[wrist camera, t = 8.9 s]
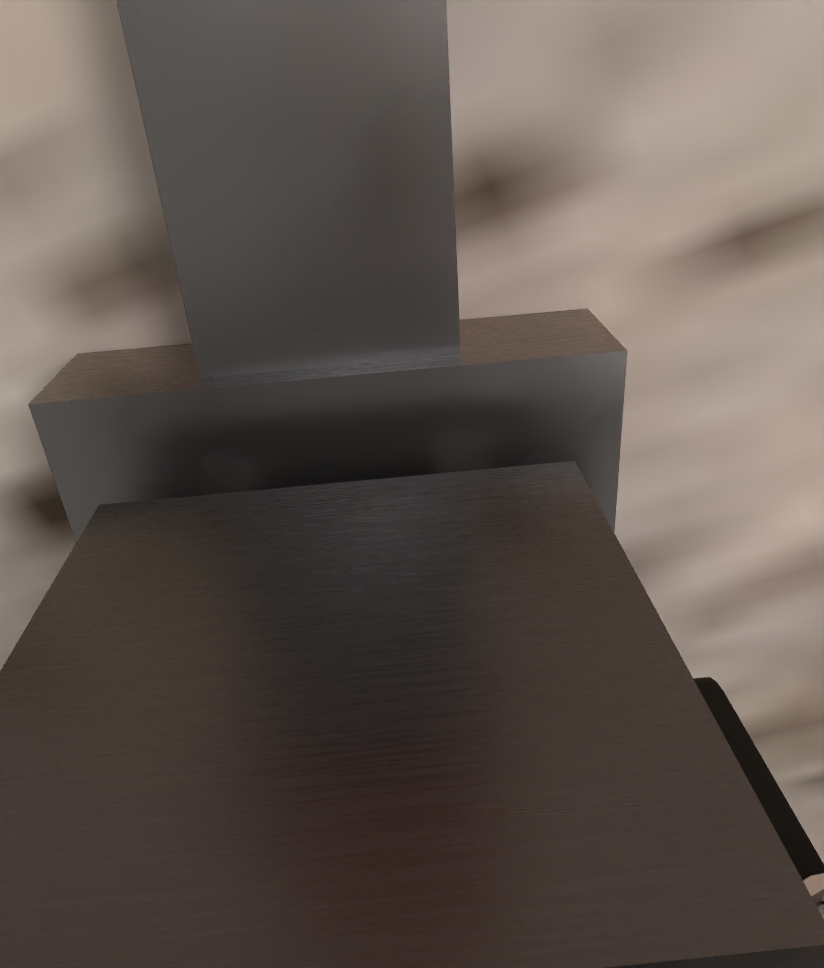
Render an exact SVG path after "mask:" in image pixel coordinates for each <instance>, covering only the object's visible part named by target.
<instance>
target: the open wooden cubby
mask: <svg viewBox="0 0 824 968" xmlns="http://www.w3.org/2000/svg"><path fill="white" fill-rule="evenodd" d="M0 968H824V919H823V917H822V915H821V913H820V911H819V910H818V908H817V906H816V904H815V902H814V900H813V899H812V897H811V895H810V893H809V891H808V889H807V888H806V886H805V884H804V882H803V880H802V878H801V876H800V875H799V873H798V871H797V869H796V867H795V865H794V864H793V862H792V860H791V858H790V856H789V854H788V853H787V851H786V849H785V847H784V845H783V843H782V841H781V840H780V838H779V836H778V834H777V832H776V830H775V829H774V827H773V825H772V823H771V821H770V819H769V818H768V816H767V814H766V812H765V810H764V808H763V806H762V805H761V803H760V801H759V799H758V797H757V795H756V794H755V792H754V790H753V788H752V786H751V784H750V783H749V781H748V779H747V777H746V775H745V773H744V772H743V770H742V768H741V766H740V764H739V762H738V760H737V759H736V757H735V755H734V753H733V751H732V749H731V748H730V746H729V744H728V742H727V740H726V738H725V737H724V735H723V733H722V731H721V729H720V727H719V725H718V724H717V722H716V720H715V718H714V716H713V714H712V713H711V711H710V709H709V707H708V705H707V703H706V702H705V700H704V698H703V696H702V694H701V692H700V690H699V689H698V687H697V685H696V683H695V681H694V679H693V678H692V676H691V674H690V672H689V670H688V668H687V667H686V665H685V663H684V661H683V659H682V657H681V655H680V654H679V652H678V650H677V648H676V646H675V644H674V643H673V641H672V639H671V637H670V635H669V633H668V632H667V630H666V628H665V626H664V624H663V622H662V620H661V619H660V617H659V615H658V613H657V611H656V609H655V608H654V606H653V604H652V602H651V600H650V598H649V597H648V595H647V593H646V591H645V589H644V587H643V586H642V584H641V582H640V580H639V578H638V576H637V574H636V573H635V571H634V569H633V567H632V565H631V563H630V562H629V560H628V558H627V556H626V554H625V552H624V551H623V549H622V547H621V545H620V543H619V541H618V539H617V538H616V536H615V534H614V532H613V530H612V528H611V527H610V525H609V523H608V521H607V519H606V517H605V516H604V514H603V512H602V510H601V508H600V506H599V504H598V503H597V501H596V499H595V497H594V495H593V493H592V492H591V490H590V488H589V486H588V484H587V482H586V481H585V479H584V477H583V475H582V473H581V471H580V469H579V468H578V466H577V464H576V462H575V461H569V462H558V463H547V464H536V465H525V466H514V467H503V468H493V469H482V470H471V471H460V472H449V473H438V474H427V475H416V476H405V477H395V478H384V479H373V480H362V481H351V482H340V483H329V484H318V485H308V486H297V487H286V488H275V489H264V490H253V491H242V492H231V493H220V494H210V495H199V496H188V497H177V498H166V499H155V500H144V501H133V502H122V503H112V504H101V505H99V506H98V507H97V509H96V511H95V512H94V514H93V516H92V517H91V519H90V521H89V522H88V524H87V526H86V528H85V529H84V531H83V533H82V534H81V536H80V538H79V539H78V541H77V543H76V544H75V546H74V548H73V549H72V551H71V553H70V555H69V556H68V558H67V560H66V561H65V563H64V565H63V566H62V568H61V570H60V571H59V573H58V575H57V577H56V578H55V580H54V582H53V583H52V585H51V587H50V588H49V590H48V592H47V593H46V595H45V597H44V598H43V600H42V602H41V604H40V605H39V607H38V609H37V610H36V612H35V614H34V615H33V617H32V619H31V620H30V622H29V624H28V626H27V627H26V629H25V631H24V632H23V634H22V636H21V637H20V639H19V641H18V642H17V644H16V646H15V647H14V649H13V651H12V653H11V654H10V656H9V658H8V659H7V661H6V663H5V664H4V666H3V668H2V669H1V671H0Z"/></svg>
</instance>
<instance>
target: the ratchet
mask: <svg viewBox="0 0 824 968" xmlns="http://www.w3.org/2000/svg"><path fill="white" fill-rule="evenodd" d="M117 4H118V9H119V13H120V18H121V22H122V27H123V31H124V36H125V40H126V45H127V49H128V54H129V58H130V63H131V68H132V72H133V77H134V81H135V86H136V90H137V95H138V99H139V104H140V108H141V113H142V117H143V122H144V126H145V131H146V135H147V140H148V144H149V149H150V153H151V158H152V162H153V167H154V171H155V176H156V180H157V185H158V189H159V194H160V199H161V203H162V208H163V212H164V217H165V221H166V226H167V230H168V235H169V239H170V244H171V248H172V253H173V257H174V262H175V266H176V271H177V275H178V280H179V284H180V289H181V293H182V298H183V302H184V307H185V311H186V316H187V320H188V325H189V330H190V334H191V339H192V343H193V344H184V345H173V346H162V347H150V348H139V349H128V350H116V351H105V352H94V353H82V354H77V355H76V356H75V357H74V358H73V359H72V360H71V361H70V362H69V363H68V364H67V365H66V366H65V367H64V368H63V369H62V370H61V371H60V372H59V373H58V374H57V375H56V376H55V377H54V379H53V380H52V381H51V382H50V383H49V384H48V385H47V386H46V387H45V388H44V389H43V390H42V391H41V392H40V393H39V394H38V395H37V396H36V397H35V398H34V399H33V400H32V401H31V402H30V403H29V404H28V405H29V408H30V410H31V413H32V416H33V419H34V422H35V425H36V428H37V431H38V434H39V436H40V439H41V442H42V445H43V448H44V451H45V454H46V457H47V460H48V463H49V465H50V468H51V471H52V474H53V477H54V480H55V483H56V486H57V489H58V491H59V494H60V497H61V500H62V503H63V506H64V509H65V512H66V515H67V517H68V520H69V523H70V526H71V529H72V532H73V535H74V538H75V541H76V543H77V541H78V539H79V538H80V536H81V534H82V533H83V531H84V529H85V528H86V526H87V524H88V522H89V521H90V519H91V517H92V516H93V514H94V512H95V511H96V509H97V507H98V506H99V505H101V504H112V503H122V502H133V501H144V500H155V499H166V498H177V497H188V496H199V495H210V494H220V493H231V492H242V491H253V490H264V489H275V488H286V487H297V486H308V485H318V484H329V483H340V482H351V481H362V480H373V479H384V478H395V477H405V476H416V475H427V474H438V473H449V472H460V471H471V470H482V469H493V468H503V467H514V466H525V465H536V464H547V463H558V462H569V461H575V462H576V464H577V466H578V468H579V469H580V471H581V473H582V475H583V477H584V479H585V481H586V482H587V484H588V486H589V488H590V490H591V492H592V493H593V495H594V497H595V499H596V501H597V503H598V504H599V506H600V508H601V510H602V512H603V514H604V516H605V517H606V519H607V521H608V523H609V525H610V527H611V528H612V530H613V532H614V529H615V514H616V500H617V486H618V472H619V458H620V444H621V430H622V415H623V401H624V387H625V373H626V359H627V350H626V349H625V348H624V347H623V346H622V345H621V344H620V343H619V341H618V340H617V339H616V338H615V337H614V336H613V335H612V334H611V333H610V332H609V331H608V330H607V329H606V328H605V327H604V326H603V325H602V324H601V322H600V321H599V320H598V319H597V318H596V317H595V316H594V315H593V314H592V313H591V312H590V311H589V310H588V309H581V310H569V311H558V312H547V313H535V314H524V315H513V316H501V317H490V318H479V319H467V320H459V302H458V278H457V254H456V230H455V206H454V182H453V158H452V134H451V110H450V86H449V62H448V38H447V14H446V0H117Z"/></svg>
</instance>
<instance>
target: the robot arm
mask: <svg viewBox="0 0 824 968" xmlns="http://www.w3.org/2000/svg"><path fill="white" fill-rule="evenodd" d="M694 681H695V683H696V685H697V687H698V689H699V690H700V692H701V694H702V696H703V698H704V700H705V702H706V703H707V705H708V707H709V709H710V711H711V713H712V714H713V716H714V718H715V720H716V722H717V724H718V725H719V727H720V729H721V731H722V733H723V735H724V737H725V738H726V740H727V742H728V744H729V746H730V748H731V749H732V751H733V753H734V755H735V757H736V759H737V760H738V762H739V764H740V766H741V768H742V770H743V772H744V773H745V775H746V777H747V779H748V781H749V783H750V784H751V786H752V788H753V790H754V792H755V794H756V795H757V797H758V799H759V801H760V803H761V805H762V806H763V808H764V810H765V812H766V814H767V816H768V818H769V819H770V821H771V823H772V825H773V827H774V829H775V830H776V832H777V834H778V836H779V838H780V840H781V841H782V843H783V845H784V847H785V849H786V851H787V853H788V854H789V856H790V858H791V860H792V862H793V864H794V865H795V867H796V869H797V871H798V873H799V875H800V876H801V878H802V880H803V882H804V884H805V886H806V888H807V889H808V891H809V893H810V895H811V897H812V899H813V900H814V902H815V904H816V906H817V908H818V910H819V911H820V913H821V915H822V917H823V919H824V864H823V862H822V861H821V859H820V857H819V855H818V854H817V852H816V850H815V848H814V847H813V845H812V843H811V842H810V840H809V838H808V836H807V835H806V833H805V831H804V829H803V828H802V826H801V824H800V823H799V821H798V819H797V817H796V816H795V814H794V812H793V810H792V809H791V807H790V805H789V804H788V802H787V800H786V798H785V797H784V795H783V793H782V791H781V790H780V788H779V786H778V785H777V783H776V781H775V779H774V778H773V776H772V774H771V773H770V771H769V769H768V767H767V766H766V764H765V762H764V760H763V759H762V757H761V755H760V754H759V752H758V750H757V748H756V747H755V745H754V743H753V741H752V740H751V738H750V736H749V735H748V733H747V731H746V729H745V728H744V726H743V724H742V722H741V721H740V719H739V717H738V716H737V714H736V712H735V710H734V709H733V707H732V705H731V703H730V702H729V700H728V698H727V697H726V695H725V693H724V691H723V690H722V689H721V687H720V686H719V685H718V683H717V682H716V681H715V680H713V679H712V678H710V677H708V678H696V679H694Z"/></svg>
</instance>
